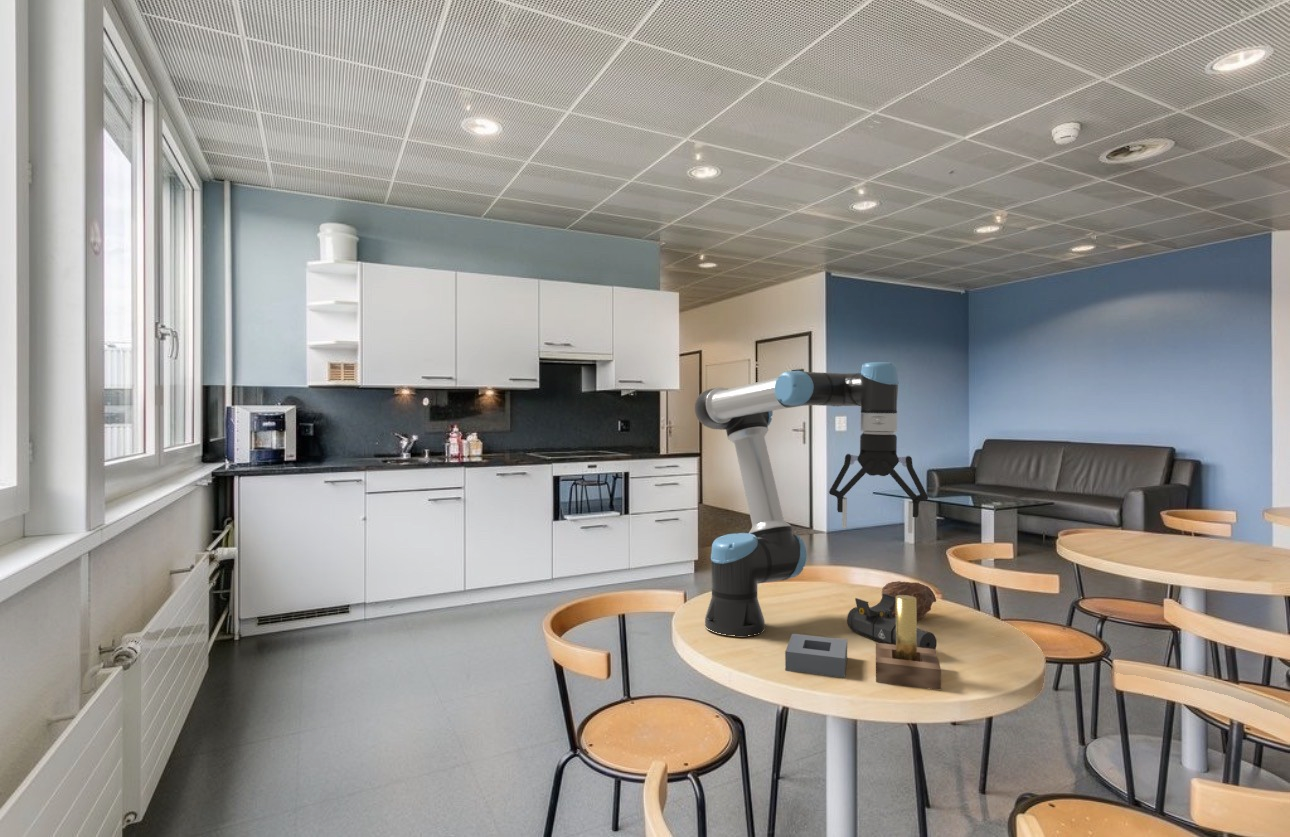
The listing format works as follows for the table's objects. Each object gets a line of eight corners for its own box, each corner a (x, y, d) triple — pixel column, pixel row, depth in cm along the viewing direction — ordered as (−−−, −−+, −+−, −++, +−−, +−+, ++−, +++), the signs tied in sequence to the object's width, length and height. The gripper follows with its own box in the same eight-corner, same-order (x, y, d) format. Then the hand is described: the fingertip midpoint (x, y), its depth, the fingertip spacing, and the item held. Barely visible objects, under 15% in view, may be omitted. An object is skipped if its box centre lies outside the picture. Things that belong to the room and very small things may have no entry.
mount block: (785, 670, 134) (785, 651, 134) (792, 651, 145) (792, 633, 145) (844, 677, 129) (844, 658, 129) (847, 657, 141) (847, 639, 141)
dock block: (875, 681, 127) (875, 662, 127) (875, 660, 139) (875, 642, 139) (941, 690, 123) (940, 669, 123) (935, 667, 134) (935, 649, 134)
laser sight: (912, 662, 138) (912, 617, 138) (838, 632, 158) (837, 592, 158) (943, 655, 142) (942, 611, 142) (866, 627, 162) (866, 588, 162)
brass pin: (896, 677, 130) (895, 599, 130) (895, 670, 133) (895, 594, 134) (917, 679, 128) (916, 601, 128) (916, 672, 132) (915, 596, 132)
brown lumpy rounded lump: (942, 619, 168) (941, 581, 168) (919, 627, 161) (919, 588, 161) (896, 608, 178) (896, 572, 178) (873, 615, 171) (873, 578, 172)
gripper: (818, 432, 139) (816, 528, 139) (942, 435, 130) (940, 537, 131) (821, 431, 146) (819, 522, 146) (939, 433, 137) (937, 530, 138)
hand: (876, 529), depth 139 cm, fingers open, 13 cm apart
